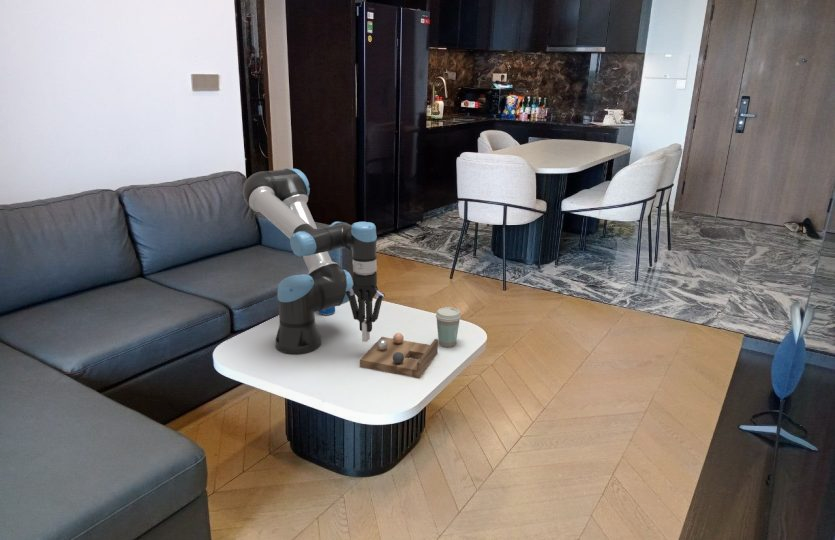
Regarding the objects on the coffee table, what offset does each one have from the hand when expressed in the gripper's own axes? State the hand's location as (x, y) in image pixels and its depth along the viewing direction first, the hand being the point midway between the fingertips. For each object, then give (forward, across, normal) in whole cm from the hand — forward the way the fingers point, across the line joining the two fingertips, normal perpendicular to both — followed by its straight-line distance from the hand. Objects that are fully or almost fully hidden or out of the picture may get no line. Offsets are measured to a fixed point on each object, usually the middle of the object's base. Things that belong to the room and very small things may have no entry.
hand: (366, 339), depth 191 cm
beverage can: (+5, -28, +26) cm, 39 cm away
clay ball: (+1, +9, +7) cm, 11 cm away
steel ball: (+1, +6, 0) cm, 6 cm away
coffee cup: (+5, +23, +17) cm, 29 cm away
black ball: (+1, +14, -6) cm, 15 cm away
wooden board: (+5, +12, 0) cm, 13 cm away
